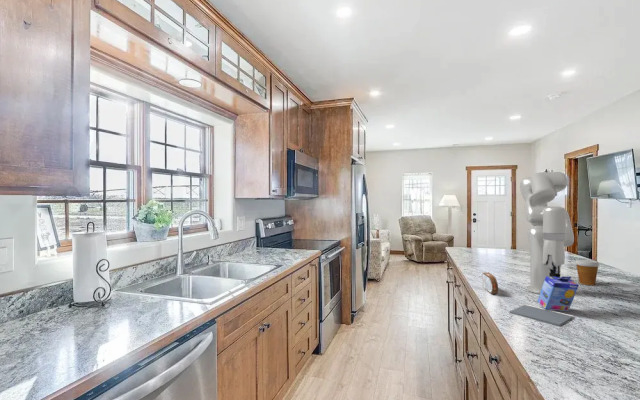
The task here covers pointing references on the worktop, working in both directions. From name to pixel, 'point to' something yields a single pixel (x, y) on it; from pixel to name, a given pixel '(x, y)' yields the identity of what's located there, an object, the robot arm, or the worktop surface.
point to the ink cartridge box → (557, 293)
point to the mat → (542, 315)
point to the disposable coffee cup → (587, 271)
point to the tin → (490, 283)
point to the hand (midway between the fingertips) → (554, 282)
